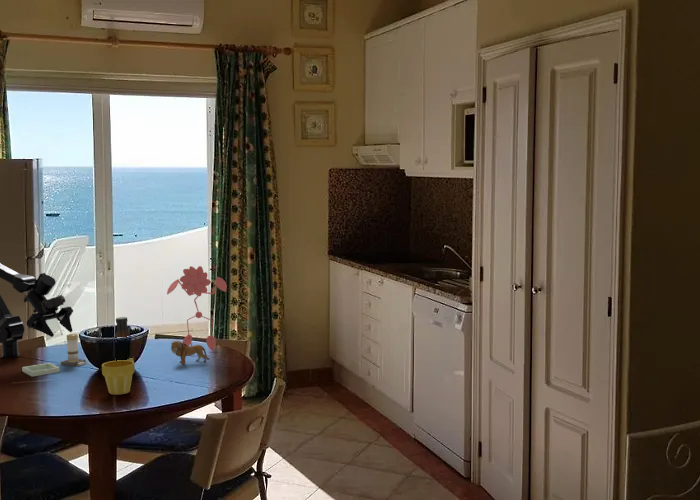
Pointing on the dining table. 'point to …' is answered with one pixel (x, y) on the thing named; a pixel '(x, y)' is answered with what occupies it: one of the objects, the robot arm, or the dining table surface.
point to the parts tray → (40, 369)
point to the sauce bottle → (122, 329)
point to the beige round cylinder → (72, 347)
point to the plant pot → (118, 376)
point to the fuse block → (75, 364)
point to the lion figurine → (188, 351)
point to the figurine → (197, 285)
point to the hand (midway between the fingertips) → (62, 333)
